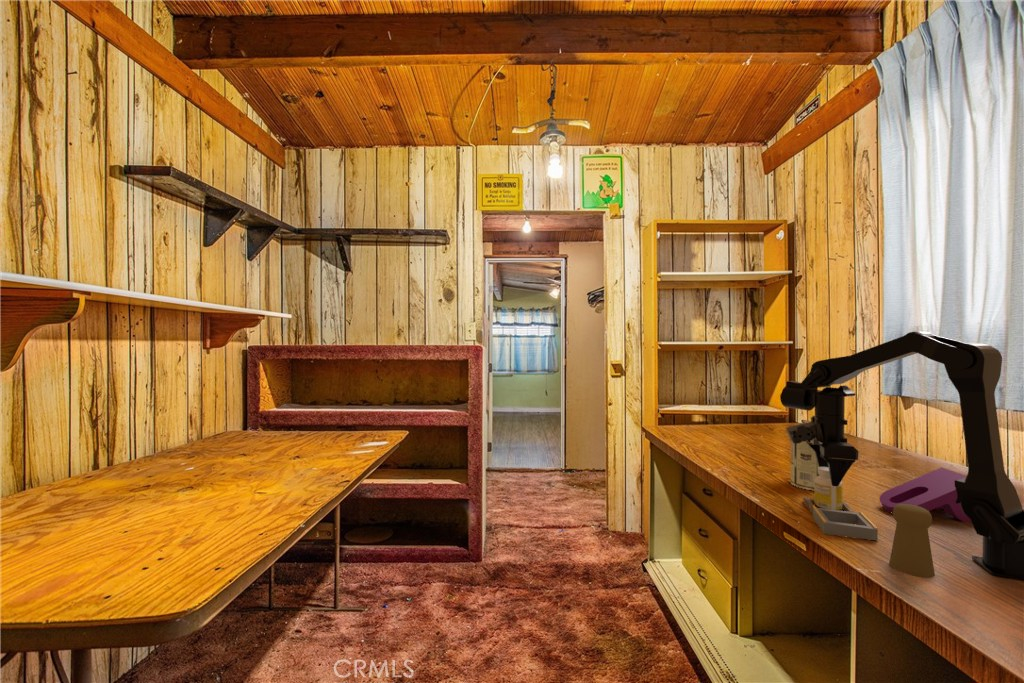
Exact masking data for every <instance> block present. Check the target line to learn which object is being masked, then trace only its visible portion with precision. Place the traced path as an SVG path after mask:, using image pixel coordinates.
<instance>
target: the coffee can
mask: <svg viewBox="0 0 1024 683" xmlns="http://www.w3.org/2000/svg"><path fill="white" fill-rule="evenodd" d="M806 442H807V441H802V442H801V443H798V444H794V443H793V442H792V441H791V440H790V484H791V485H792V486H793V485H794V486H793V487H795V486H796V487H795V488H798V487H799V488H798V489H801V488H802V489H801V490H804V489H806V490H805V491H809V490H812V491H811V492H814V479H815V477H817V476H819V474H818V467H819V466H818V462H817V458H816V455H815V451H814V450H813V449H812V448H811V447H810V446H809V445H808V444H807V443H806Z"/></svg>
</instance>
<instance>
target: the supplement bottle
mask: <svg viewBox="0 0 1024 683" xmlns="http://www.w3.org/2000/svg"><path fill="white" fill-rule="evenodd" d="M818 474H819V476H817V477H815V479H814V491H813V494H814V496H813V497H814V498H813V499H814V504H813V505H814V506H815V507H816V508H823V509H832V510H840V511H843V510H842V501H843V482H842V481H841V482H840V484H839V485H838V486H832V484H831V479H830V473H829V468H828V467H818Z"/></svg>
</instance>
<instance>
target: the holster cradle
mask: <svg viewBox="0 0 1024 683" xmlns="http://www.w3.org/2000/svg"><path fill="white" fill-rule="evenodd" d="M802 500H803V501H804V502H803V501H802V502H803V504H804V505H805V504H806V505H805V507H806V508H807V507H808V508H809V509H808V508H807V509H808V511H809V510H810V511H811V512H810V511H809V512H810V514H813V506H815V505H814V504H813V503H814V498H809V497H808V496H803V498H802ZM842 509H843V510H844V511H848V512H855V511H854V509H852V508H851V507H850V506H849V504H848V503H846V501H844V500H842ZM843 510H842V511H843Z"/></svg>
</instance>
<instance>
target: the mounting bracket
mask: <svg viewBox="0 0 1024 683" xmlns="http://www.w3.org/2000/svg"><path fill="white" fill-rule="evenodd" d="M966 477H967V474H962V473H960V472H956V471H955V470H954V471H953V470H951V469H947V468H945V467H940V468H936V469H935V470H932V471H929V472H928V473H925V474H923V475H920V476H918V477H916V478H914V479H911V480H909V481H906V482H904V483H901V484H899V485H897V486H894V487H892V488H889V489H887V490H886V491H883V492H882V493H881V495H880V496H879V501H880V503H881V506H882V507H883V509H884V510H885V509H886V510H887V511H889V512H892V513H893V509H894V507H895V506H896V505H898V504H911V505H916V506H919V507H922V508H924V509H926V510H928V511H929V512H931V511H932V510H936V509H945V510H944V511H945V512H946V513H947V514H948V515H949V516H950V517H952V518H954V519H956V520H959V521H961V522H963V523H972V521H971V519H970V518H969V517H968V516H966V515H965V514H964V513H963V511H962V508H961V503H958V504H957V503H956V500H957V491H956V488H955V482H954V481H955V480H959V479H963V478H966ZM886 510H885V511H886ZM887 511H886V512H887ZM889 512H888V513H889ZM892 513H891V514H892Z"/></svg>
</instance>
